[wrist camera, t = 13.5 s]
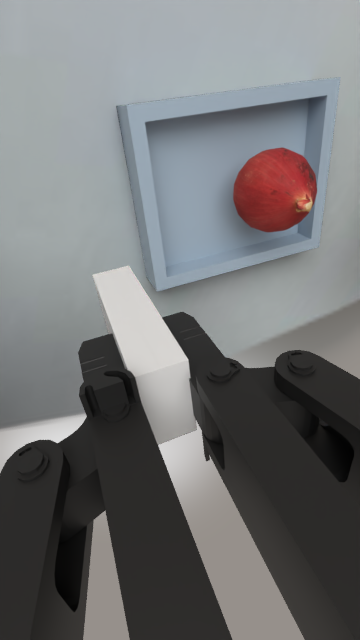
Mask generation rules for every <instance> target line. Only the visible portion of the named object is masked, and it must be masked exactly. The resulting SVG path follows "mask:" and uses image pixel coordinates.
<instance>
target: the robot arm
mask: <svg viewBox="0 0 360 640" xmlns="http://www.w3.org/2000/svg"><path fill="white" fill-rule="evenodd" d="M93 279H94V283H95V286H96V290H97V294H98V297H99V301H100V304H101V308H102V312H103V315H104V319H105V323H106V326H107V330H108V333H109V334H108V335H105V336H101V337H98V338H94V339H91V340H88V341H84V342H83V343H82V345H81V347H80V350H79V352H78V354H79V359H80V364H81V370H82V375H83V380H84V382H83V384H82V385H81V387H80V393H79V397H80V399H81V402H82V404H83V407H84V410H85V412H86V415H87V418H86V419H85V421H84V423H83V424H82V425H81V426H80V427H79V428H78V430H77V431H75V432H74V433H73V434H71V435H70V436H69V437H67V438H65V439H64V440H63V441H61V442H59V443H55V442H53V441H51V440H38V441H35V442H31V443H29V444H26V445H25V446H23V447H22V448H20V449H18V450H17V451H16V452H15V453H14V454H13V455H12V456H11V457H10V458H9V459H8V460H7V462H6V463H5V465H4V467H3V469H2V471H1V473H0V640H83V634H84V623H85V611H86V600H87V589H88V577H89V566H90V555H91V543H92V532H93V520H94V519H95V518H96V517H97V516H99V515H100V514H101V513H102V512H104V511H105V510H106V515H107V521H108V526H109V531H110V537H111V542H112V547H113V552H114V557H115V563H116V568H117V573H118V579H119V584H120V589H121V595H122V600H123V605H124V611H125V616H126V621H127V626H128V631H129V637H130V640H232V638H231V635H230V632H229V630H228V627H227V625H226V622H225V619H224V617H223V614H222V612H221V609H220V606H219V604H218V601H217V599H216V596H215V593H214V590H213V588H212V585H211V583H210V580H209V577H208V575H207V572H206V570H205V567H204V564H203V562H202V559H201V557H200V554H199V551H198V549H197V546H196V543H195V541H194V538H193V536H192V533H191V530H190V528H189V525H188V523H187V520H186V517H185V515H184V512H183V510H182V507H181V504H180V502H179V499H178V497H177V494H176V491H175V489H174V486H173V483H172V481H171V478H170V476H169V473H168V471H167V468H166V465H165V463H164V460H163V458H162V455H161V452H160V450H159V447H158V445H159V444H161V443H164V442H167V441H169V440H172V439H174V438H177V437H180V436H182V435H185V434H187V433H190V432H192V431H195V430H197V426H196V420H197V422H198V424H199V426H200V428H201V430H202V436H203V445H204V454H205V458H206V461H208V460H210V458H209V455H210V457H211V459H212V460H213V462H214V464H215V466H216V468H217V470H218V472H219V474H220V476H221V478H222V480H223V482H224V484H225V486H226V487H227V489H228V491H229V493H230V495H231V497H232V499H233V501H234V503H235V505H236V507H237V508H238V511H239V513H240V515H241V517H242V519H243V521H244V522H245V524H246V526H247V528H248V530H249V532H250V534H251V536H252V538H253V540H254V542H255V544H256V546H257V548H258V550H259V551H260V554H261V555H262V557H263V559H264V561H265V563H266V565H267V567H268V569H269V571H270V573H271V575H272V577H273V579H274V581H275V583H276V585H277V586H278V588H279V590H280V592H281V594H282V596H283V598H284V600H285V602H286V604H287V606H288V608H289V610H290V611H291V614H292V616H293V617H294V619H295V621H296V623H297V625H298V627H299V629H300V631H301V633H302V635H303V637H304V639H305V640H360V379H358V378H357V377H355V376H353V375H351V374H349V373H348V372H346V371H344V370H343V369H341V368H339V367H337V366H336V365H334V364H332V363H330V362H328V361H327V360H325V359H323V358H321V357H320V356H318V355H316V354H313V353H311V352H307V351H301V350H294V351H288V352H285V353H282V354H281V355H280V356H279V357H278V358H277V359H276V362H275V367H266V368H244V367H243V366H242V365H241V364H240V363H239V362H238V361H236V360H233V359H230V358H225V357H224V356H223V354H222V353H221V352H220V350H219V349H218V348H217V347H216V345H215V344H214V343H213V342H212V340H211V339H210V338H209V336H208V335H207V334H205V331H204V330H203V329H202V328H201V327H200V325H199V324H198V323H197V321H196V320H195V319H194V317H192V316H190V315H188V314H186V313H184V312H180V313H176V314H173V315H169V316H166V317H161V316H160V314H159V312H158V311H157V309H156V308H155V306H154V305H153V303H152V301H151V300H150V298H149V297H148V295H147V294H146V292H145V290H144V289H143V287H142V286H141V284H140V282H139V281H138V279H137V278H136V276H135V275H134V273H133V271H132V270H131V268H130V267H129V266H126V267H122V268H118V269H114V270H109V271H105V272H101V273H97V274H93Z"/></svg>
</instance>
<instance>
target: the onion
mask: <svg viewBox="0 0 360 640" xmlns="http://www.w3.org/2000/svg"><path fill="white" fill-rule="evenodd" d="M316 195H317V183H316V175H315V173H314V171H313V169H312V168H311V166H310V165H309V163H308V161H307V160H306V159H305V158H304V157H303V156H302V155H300V154H298V153H296V152H293V151H291V150H289V149H286V148H283V147H282V148H275V149H269V150H265V151H261V152H260V153H258V154H257V155H255V156H253V157H252V158H250V159H249V160H248V161H247V162H246V164H245V165H244V166H243V167H242V169H241V170H240V171H239V173H238V175H237V178H236V180H235V183H234V190H233V200H234V204H235V207H236V210H237V213H238V215H239V216H240V217H241V218H242V219H243V220H244V221H245V223H247V224H248V225H249V226H250V227H252V228H255V229H258V230H260V231H264V232H277V231H284V230H287V229H289V228H291V227H293V226H295V225H296V224H298V223H300V222H301V221H302V220H303V219H304V218H305V217H306V216H307V215H308V213H309V212H310V210H311V208H312V207H313V205H314V202H315V199H316Z"/></svg>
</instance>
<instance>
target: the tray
mask: <svg viewBox="0 0 360 640" xmlns="http://www.w3.org/2000/svg"><path fill="white" fill-rule="evenodd" d="M339 85H340V77H336V78H327V79H318V80H310V81H302V82H295V83H287V84H279V85H272V86H264V87H257V88H249V89H242V90H234V91H226V92H219V93H211V94H204V95H196V96H189V97H181V98H174V99H166V100H158V101H151V102H143V103H136V104H128V105H121V106H116V107H117V112H118V118H119V123H120V129H121V135H122V140H123V146H124V152H125V157H126V163H127V168H128V174H129V180H130V185H131V191H132V197H133V202H134V208H135V213H136V219H137V225H138V230H139V236H140V241H141V247H142V253H143V258H144V264H145V270H146V275H147V278H148V280H149V281H150V282H151V284H152V285H153V287H154V288H155V289H156V291H161V290H165V289H168V288H172V287H176V286H179V285H183V284H186V283H190V282H194V281H197V280H201V279H205V278H208V277H212V276H215V275H219V274H223V273H226V272H230V271H234V270H237V269H241V268H244V267H248V266H252V265H255V264H259V263H263V262H266V261H270V260H274V259H277V258H281V257H284V256H288V255H292V254H295V253H299V252H303V251H306V250H310V249H313V248H317V247H319V243H320V236H321V228H322V220H323V212H324V204H325V196H326V188H327V180H328V172H329V164H330V156H331V148H332V140H333V132H334V124H335V117H336V109H337V101H338V93H339ZM282 147H283V148H286V149H289V150H291V151H293V152H296V153H298V154H300V155H302V156H303V157H304V158H305V159H306V160H307V161H308V163H309V165H310V166H311V168H312V169H313V171H314V173H315V175H316V183H317V195H316V199H315V202H314V205H313V207H312V208H311V210H310V212H309V213H308V215H307V216H306V217H305V218H304V219H303V220H302V221H301V222H300V223H298V224H296V225H295V226H293V227H291V228H289V229H287V230H284V231H277V232H264V231H260V230H258V229H255V228H252V227H250V226H249V225H248V224H247V223H245V221H244V220H243V219H242V218H241V217H240V216H239V215H238V213H237V210H236V207H235V204H234V200H233V190H234V183H235V180H236V178H237V175H238V173H239V171H240V170H241V169H242V167H243V166H244V165H245V164H246V162H247V161H248V160H249V159H250V158H252V157H253V156H255V155H257V154H258V153H260V152H261V151H265V150H269V149H275V148H282Z"/></svg>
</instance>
